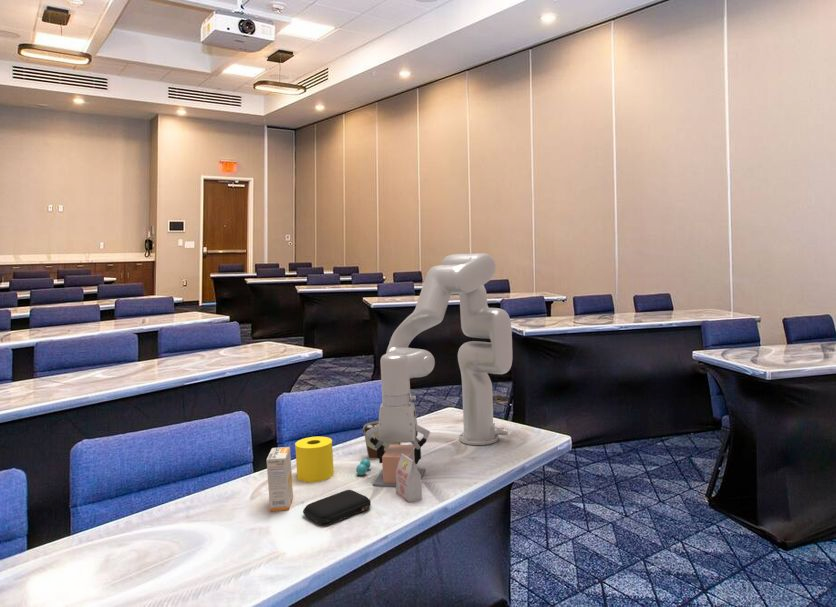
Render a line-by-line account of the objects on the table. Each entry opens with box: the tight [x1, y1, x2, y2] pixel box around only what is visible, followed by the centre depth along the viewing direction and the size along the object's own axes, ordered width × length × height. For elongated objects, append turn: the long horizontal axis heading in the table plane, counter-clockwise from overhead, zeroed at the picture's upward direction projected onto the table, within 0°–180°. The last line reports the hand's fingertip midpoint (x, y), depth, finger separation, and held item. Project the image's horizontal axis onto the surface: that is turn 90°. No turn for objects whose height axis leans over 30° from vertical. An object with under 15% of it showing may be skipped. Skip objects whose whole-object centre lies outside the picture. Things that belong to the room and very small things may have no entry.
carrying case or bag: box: [302, 489, 372, 526], centre depth 139 cm, size 11×3×15 cm
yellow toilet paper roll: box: [294, 436, 335, 483], centre depth 163 cm, size 10×10×9 cm
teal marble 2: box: [355, 463, 368, 476], centre depth 162 cm, size 3×3×3 cm
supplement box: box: [266, 446, 294, 512], centre depth 145 cm, size 8×5×13 cm, turn 5°
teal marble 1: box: [359, 458, 371, 470], centre depth 166 cm, size 3×3×3 cm
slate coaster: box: [372, 467, 426, 488], centre depth 159 cm, size 12×12×1 cm
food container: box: [361, 420, 402, 460], centre depth 177 cm, size 12×6×10 cm, turn 84°
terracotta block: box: [381, 444, 417, 483], centre depth 159 cm, size 7×10×7 cm
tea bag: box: [395, 453, 423, 503], centre depth 147 cm, size 4×7×10 cm, turn 28°
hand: (399, 461), depth 159 cm, fingers open, 9 cm apart
